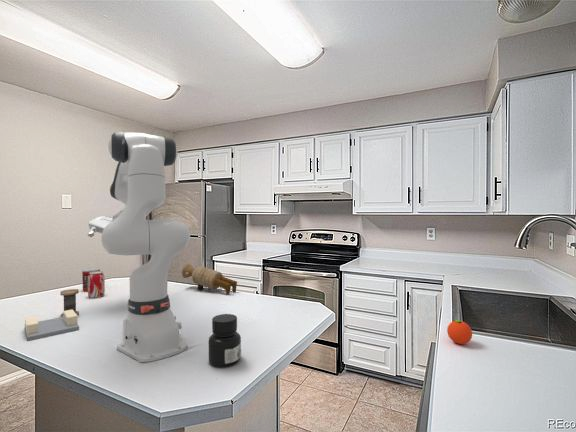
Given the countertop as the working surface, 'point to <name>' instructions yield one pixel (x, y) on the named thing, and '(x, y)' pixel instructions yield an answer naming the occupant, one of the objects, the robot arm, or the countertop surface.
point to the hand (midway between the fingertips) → (98, 238)
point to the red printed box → (85, 277)
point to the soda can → (96, 284)
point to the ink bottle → (224, 341)
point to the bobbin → (70, 300)
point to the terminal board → (51, 325)
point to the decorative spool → (208, 278)
